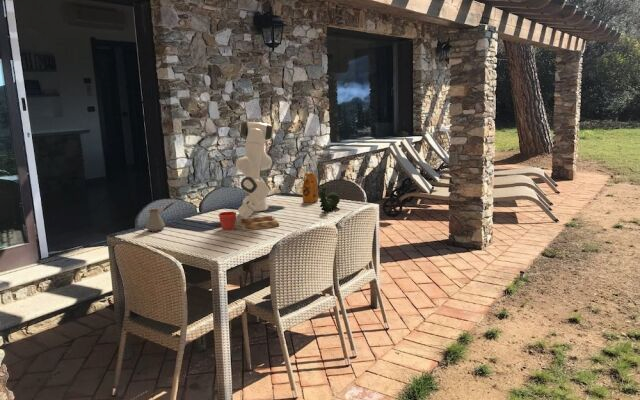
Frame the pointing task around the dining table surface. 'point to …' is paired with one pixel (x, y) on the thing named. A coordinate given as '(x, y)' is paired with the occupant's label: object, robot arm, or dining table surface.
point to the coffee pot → (155, 220)
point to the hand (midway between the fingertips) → (236, 220)
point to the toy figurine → (328, 200)
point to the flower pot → (227, 220)
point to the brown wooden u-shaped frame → (259, 222)
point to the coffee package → (310, 188)
